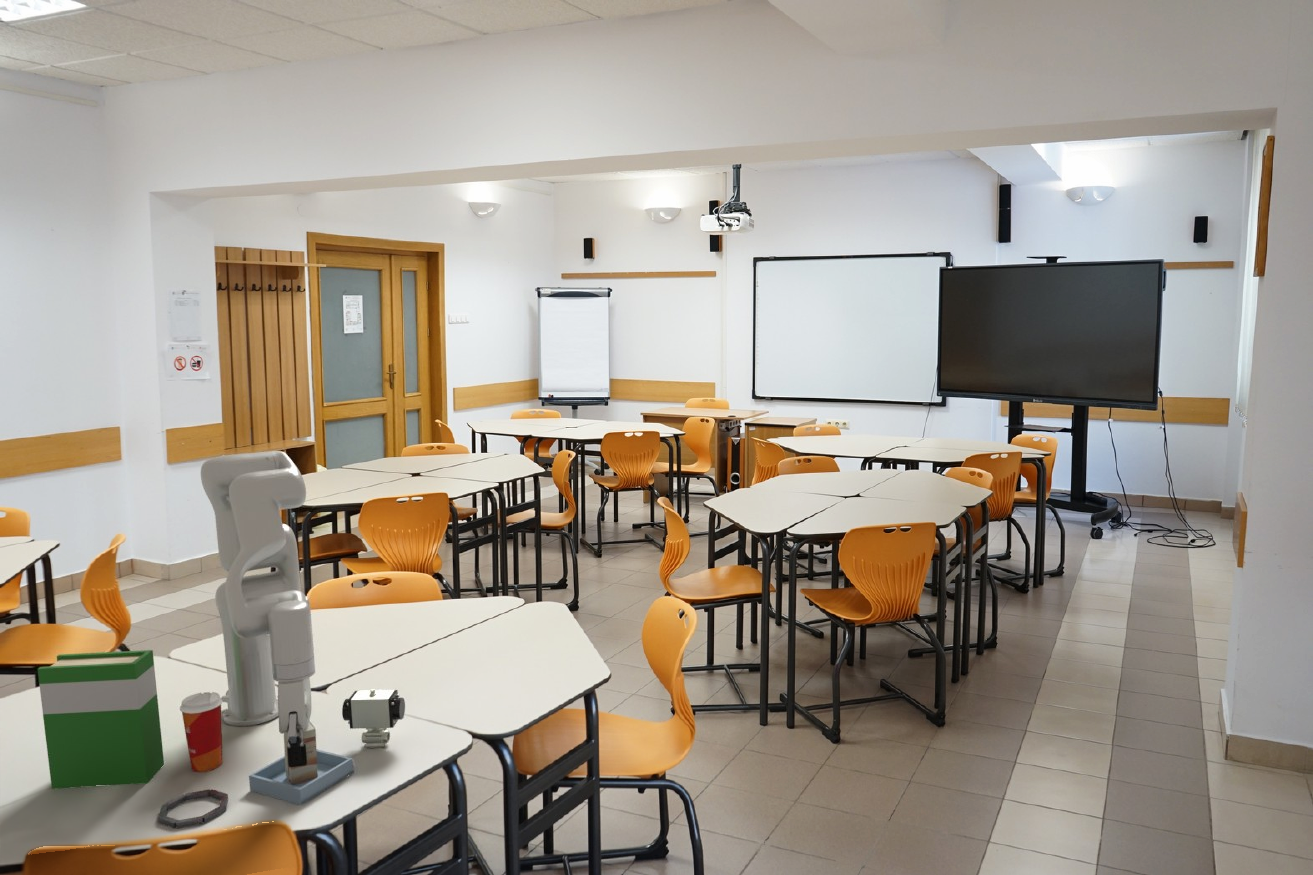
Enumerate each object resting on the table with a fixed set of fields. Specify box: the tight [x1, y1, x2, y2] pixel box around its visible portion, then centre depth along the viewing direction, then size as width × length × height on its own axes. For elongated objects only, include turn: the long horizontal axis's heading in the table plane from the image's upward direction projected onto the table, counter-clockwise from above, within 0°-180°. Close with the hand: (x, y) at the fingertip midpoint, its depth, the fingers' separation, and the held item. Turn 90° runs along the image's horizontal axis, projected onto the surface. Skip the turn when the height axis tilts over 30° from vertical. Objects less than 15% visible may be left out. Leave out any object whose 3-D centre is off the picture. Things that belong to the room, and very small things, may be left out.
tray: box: [248, 748, 355, 806], centre depth 181 cm, size 13×13×3 cm
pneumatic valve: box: [341, 688, 406, 749], centre depth 195 cm, size 6×12×12 cm, turn 90°
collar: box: [157, 788, 229, 829], centre depth 171 cm, size 11×11×1 cm
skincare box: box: [283, 721, 318, 785], centre depth 180 cm, size 5×4×10 cm
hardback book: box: [37, 649, 165, 790], centre depth 183 cm, size 18×7×24 cm, turn 94°
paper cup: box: [179, 691, 224, 773], centre depth 187 cm, size 8×8×14 cm
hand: (300, 755), depth 180 cm, fingers open, 7 cm apart
